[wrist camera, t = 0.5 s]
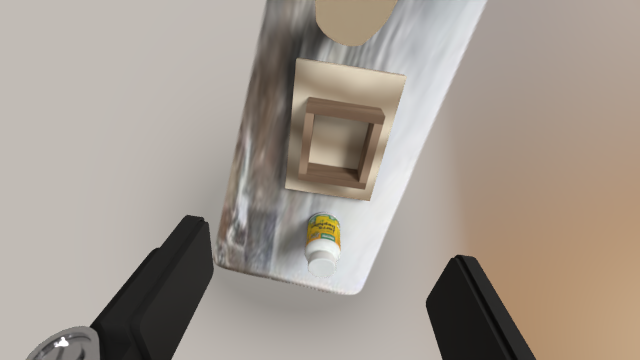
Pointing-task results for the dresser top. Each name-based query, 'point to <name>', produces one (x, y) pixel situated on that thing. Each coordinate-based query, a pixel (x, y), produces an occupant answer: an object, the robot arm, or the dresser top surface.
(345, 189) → the wooden base with box
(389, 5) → the handle
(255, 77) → the dresser top surface
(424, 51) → the dresser top surface
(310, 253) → the supplement bottle
